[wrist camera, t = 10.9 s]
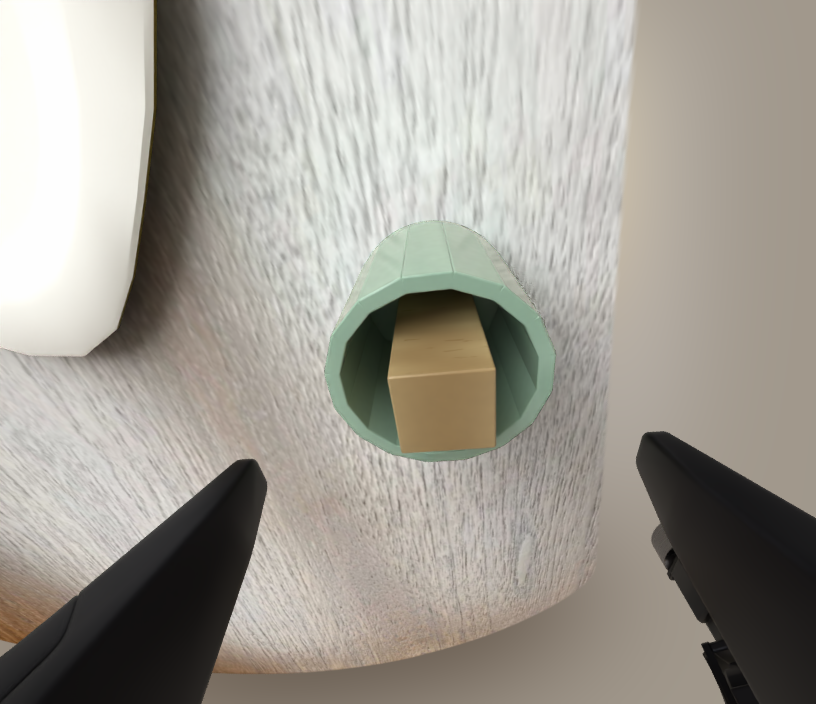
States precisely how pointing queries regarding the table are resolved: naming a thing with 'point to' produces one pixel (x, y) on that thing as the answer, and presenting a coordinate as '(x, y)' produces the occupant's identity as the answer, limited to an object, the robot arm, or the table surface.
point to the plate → (72, 167)
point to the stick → (441, 374)
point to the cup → (430, 271)
